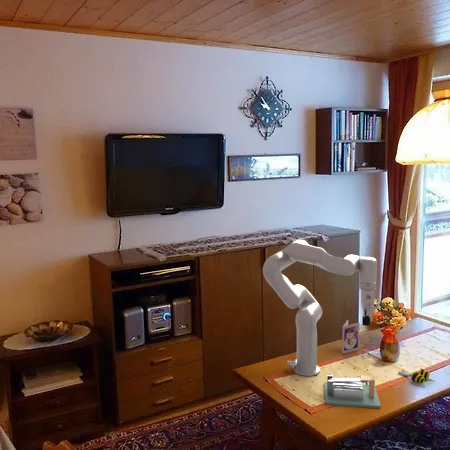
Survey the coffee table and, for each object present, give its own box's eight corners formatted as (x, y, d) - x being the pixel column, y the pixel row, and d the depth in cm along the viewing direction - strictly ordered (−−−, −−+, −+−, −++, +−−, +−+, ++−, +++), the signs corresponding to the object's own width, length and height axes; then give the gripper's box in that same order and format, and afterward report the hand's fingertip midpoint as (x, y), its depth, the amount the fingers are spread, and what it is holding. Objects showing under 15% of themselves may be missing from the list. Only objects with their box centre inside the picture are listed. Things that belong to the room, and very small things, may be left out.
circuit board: (325, 404, 209) (325, 402, 209) (324, 384, 227) (324, 382, 226) (380, 408, 206) (380, 405, 205) (374, 387, 223) (374, 385, 223)
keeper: (360, 396, 213) (361, 379, 212) (359, 391, 217) (360, 375, 216) (374, 397, 212) (374, 380, 211) (372, 392, 216) (373, 376, 215)
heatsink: (327, 397, 213) (328, 383, 212) (327, 386, 222) (327, 372, 221) (363, 399, 210) (363, 385, 209) (360, 388, 220) (361, 374, 219)
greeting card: (343, 354, 259) (343, 326, 256) (333, 349, 265) (334, 322, 263) (360, 350, 264) (360, 322, 262) (350, 345, 270) (351, 318, 268)
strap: (329, 385, 215) (328, 380, 215) (328, 382, 218) (328, 377, 218) (367, 385, 213) (367, 380, 212) (366, 382, 216) (366, 377, 215)
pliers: (423, 385, 222) (394, 373, 234) (423, 388, 223) (393, 376, 234) (435, 378, 228) (406, 367, 240) (435, 382, 228) (406, 370, 240)
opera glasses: (419, 387, 224) (422, 377, 223) (408, 381, 228) (411, 371, 227) (429, 380, 231) (432, 371, 230) (418, 374, 235) (421, 365, 233)
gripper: (378, 290, 214) (377, 331, 217) (374, 280, 228) (372, 319, 231) (360, 289, 215) (359, 330, 218) (357, 280, 229) (355, 318, 232)
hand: (366, 324), depth 224 cm, fingers closed
